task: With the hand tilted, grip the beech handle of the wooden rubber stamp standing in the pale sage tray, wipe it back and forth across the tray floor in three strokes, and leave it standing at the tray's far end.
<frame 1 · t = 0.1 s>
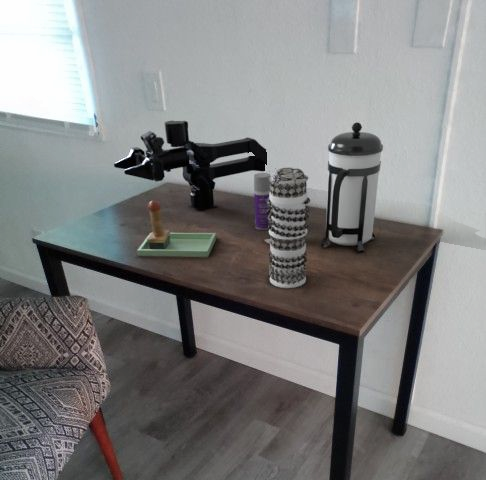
hand: (119, 168, 140), 17 cm above the table, tool horizontal, fingers open, 9 cm apart
condiment: (283, 243, 131), on the table
wooden rubber stamp: (160, 246, 132), point 1 cm above the table, touching tray
container: (263, 227, 142), on the table
tray: (178, 248, 131), on the table
coffee press: (347, 245, 129), on the table
decorative candle: (287, 280, 114), on the table
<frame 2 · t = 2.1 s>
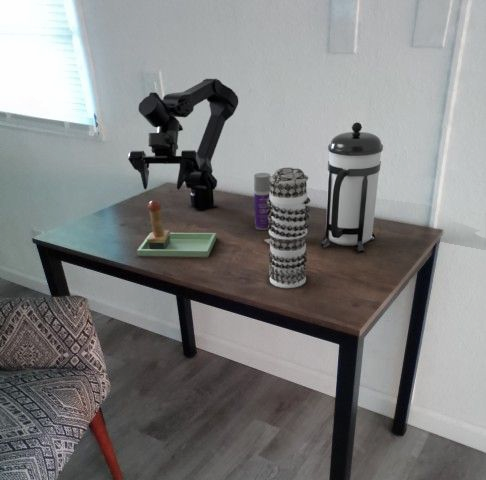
hand: (161, 188, 131), 14 cm above the table, tool tilted 45°, fingers open, 9 cm apart
nothing on the table moved.
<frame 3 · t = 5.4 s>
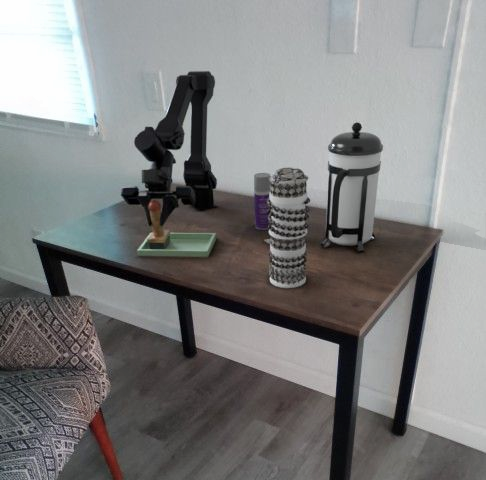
hand: (155, 225, 127), 7 cm above the table, tool tilted 45°, fingers closed on wooden rubber stamp, 3 cm apart
wooden rubber stamp: (160, 246, 132), point 1 cm above the table, touching gripper, tray
everything else where it was.
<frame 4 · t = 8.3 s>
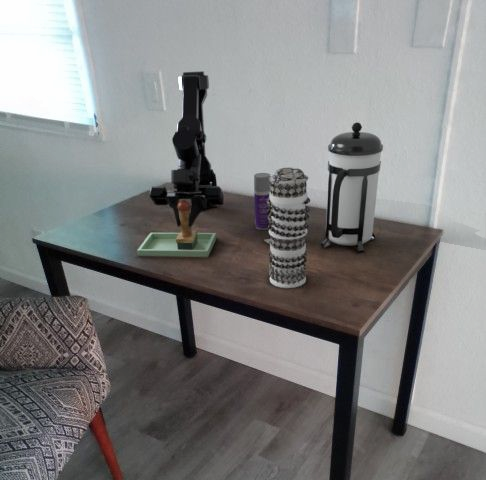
hand: (184, 226, 126), 7 cm above the table, tool tilted 45°, fingers closed on wooden rubber stamp, 3 cm apart
wooden rubber stamp: (188, 246, 131), point 1 cm above the table, touching gripper
everything else where it was.
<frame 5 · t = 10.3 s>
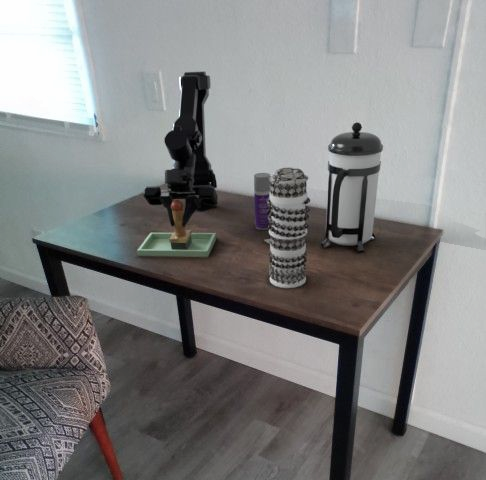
hand: (177, 226, 126), 7 cm above the table, tool tilted 45°, fingers closed on wooden rubber stamp, 3 cm apart
wooden rubber stamp: (181, 246, 131), point 1 cm above the table, touching gripper
everything else where it was.
when the fingers open (7 cm above the table, at t = 11.2 s): wooden rubber stamp stays where it is, resting on tray.
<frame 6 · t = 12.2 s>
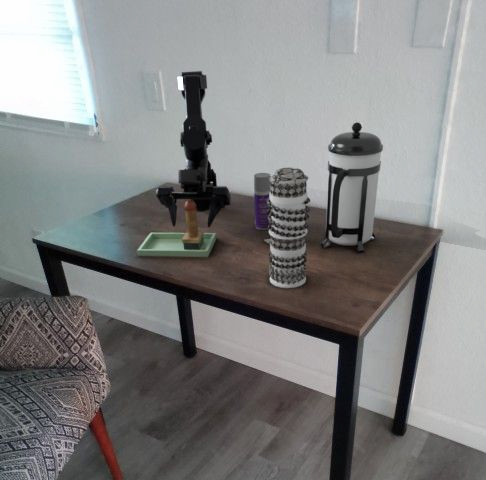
hand: (191, 226, 126), 7 cm above the table, tool tilted 45°, fingers open, 9 cm apart
wooden rubber stamp: (194, 246, 130), point 1 cm above the table, touching tray
everything else where it was.
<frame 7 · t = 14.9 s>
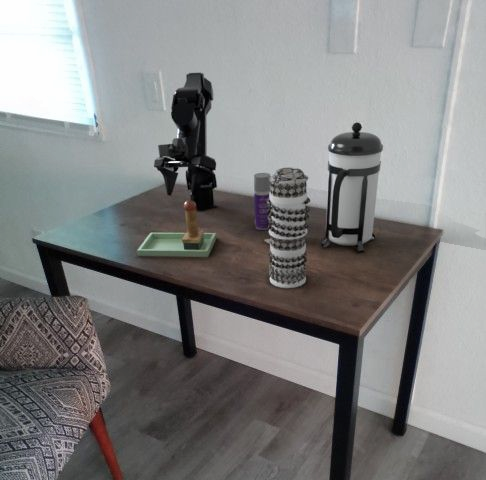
hand: (180, 195, 134), 11 cm above the table, tool tilted 30°, fingers open, 9 cm apart
nothing on the table moved.
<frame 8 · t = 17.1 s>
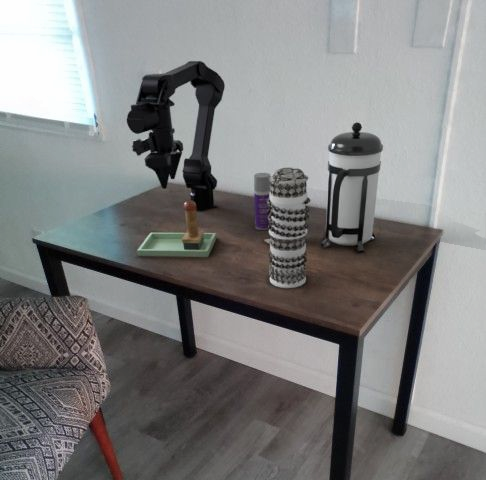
hand: (168, 183, 141), 12 cm above the table, tool pointing down, fingers open, 9 cm apart
nothing on the table moved.
at the end: wooden rubber stamp 0.2 cm from the target spot in the tray, point 0.6 cm above the tray's base; wooden rubber stamp moved 9.4 cm from its start; wooden rubber stamp tilted 0° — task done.
